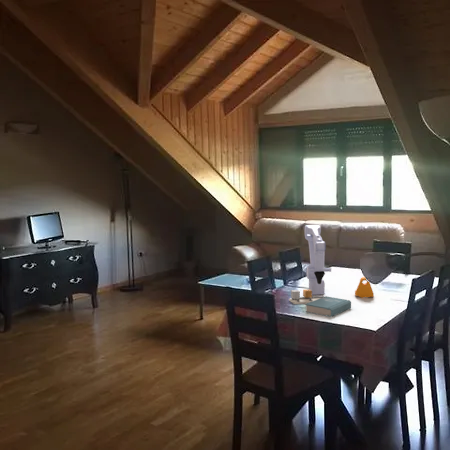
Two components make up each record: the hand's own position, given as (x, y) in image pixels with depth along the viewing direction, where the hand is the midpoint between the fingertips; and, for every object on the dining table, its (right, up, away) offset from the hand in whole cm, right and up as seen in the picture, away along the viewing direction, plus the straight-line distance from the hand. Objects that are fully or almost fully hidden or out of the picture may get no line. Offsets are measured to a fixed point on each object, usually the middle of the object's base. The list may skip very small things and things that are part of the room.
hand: (319, 283), depth 333 cm
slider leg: (-7, -8, -4) cm, 12 cm away
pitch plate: (-7, -10, -5) cm, 13 cm away
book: (+1, -13, -24) cm, 28 cm away
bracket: (+29, -9, +8) cm, 32 cm away
